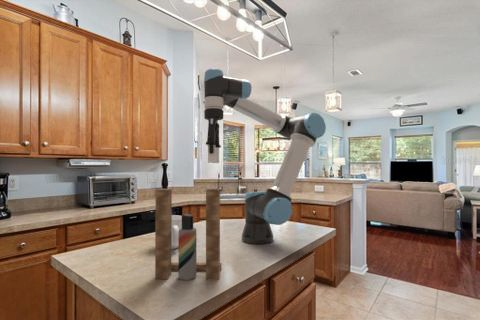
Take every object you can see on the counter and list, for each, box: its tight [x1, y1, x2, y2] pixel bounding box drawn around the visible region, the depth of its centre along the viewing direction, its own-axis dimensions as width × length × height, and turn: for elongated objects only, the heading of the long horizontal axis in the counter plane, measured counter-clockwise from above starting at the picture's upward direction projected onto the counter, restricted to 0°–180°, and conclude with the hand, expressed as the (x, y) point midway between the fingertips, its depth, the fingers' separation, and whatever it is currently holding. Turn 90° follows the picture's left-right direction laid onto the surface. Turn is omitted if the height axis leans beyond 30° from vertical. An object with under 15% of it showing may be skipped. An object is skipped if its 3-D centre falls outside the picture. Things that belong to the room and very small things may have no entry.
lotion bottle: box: [177, 213, 197, 281], centre depth 86 cm, size 6×6×20 cm
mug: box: [172, 214, 183, 250], centre depth 115 cm, size 15×11×13 cm
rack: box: [154, 188, 222, 281], centre depth 88 cm, size 20×9×28 cm, turn 89°
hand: (213, 163), depth 105 cm, fingers open, 13 cm apart
